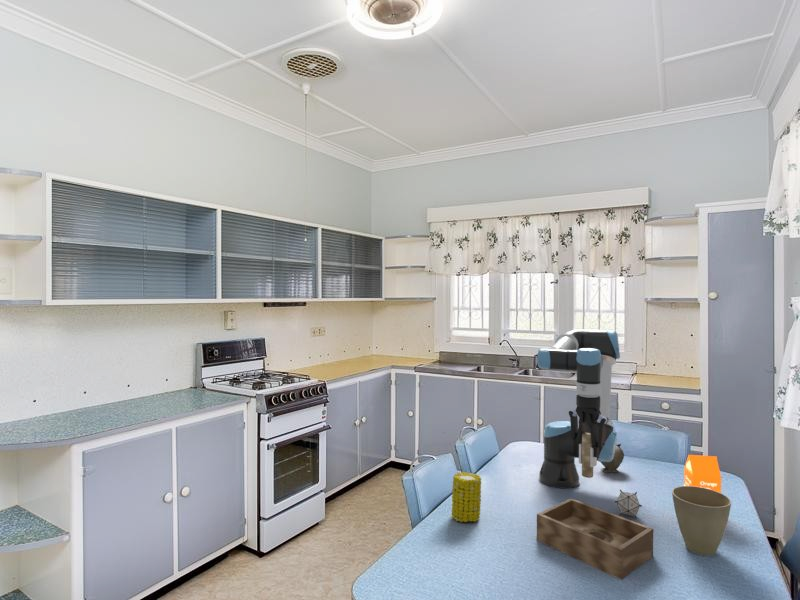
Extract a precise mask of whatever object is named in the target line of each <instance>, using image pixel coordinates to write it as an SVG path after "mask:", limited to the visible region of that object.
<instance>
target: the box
mask: <svg viewBox="0 0 800 600" xmlns="http://www.w3.org/2000/svg"><path fill="white" fill-rule="evenodd" d="M536 541H538V542H539V543H542V544H545V545H546V546H548V547H551V548H553V549H555V550H557V551H559V552H561V553H563V554H565V555H567V556H569V557H572V558H574V559H576V560H578V561H580V562H582V563H584V564H587V565H588V566H590V567H593V568H595V569H596V570H599V571H601V572H604V573H605V574H606V575H607V574H608V575H610V576H612V577H614V578H616V579H618V580H620V581H622V580H623V579H624V578H626V577H627V576H629V575H630V574H631V573H632V572H634V571H635V570H637V569H638V568H640V567H641V566H642V565H644V564H645V563H646V562H648V561H649V560H650V559H652V558H653V557H654V528H652V527H650V526H647V525H644V524H642V523H639V522H636V521H633V520H630V519H628V518H625V517H623V516H621V515H620V516H619V515H617V514H614V513H612V512H610V511H606V510H604V509H601V508H599V507H596V506H593V505H590V504H587V503H585V502H582V501H579V500H576V499H574V498H572V497H570V498H568V499H566V500H564V501H562V502H560V503H557V504H556V505H554V506H552V507H550V508H547V509H544V510H543V511H540V512H538V513H536Z"/></svg>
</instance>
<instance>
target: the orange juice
mask: <svg viewBox="0 0 800 600" xmlns="http://www.w3.org/2000/svg"><path fill="white" fill-rule="evenodd" d="M683 468H684V469H683V470H684V472H683V473H684V475H683V486H696V487H702V488H707V489H711V490H714V491H717V492H720V493H722V474H721V470H720V466H719V462H718V456H717V455H715V456H713V455H696V454H688V456H687V459H686V461H685V465H684V467H683Z"/></svg>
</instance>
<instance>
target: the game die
mask: <svg viewBox="0 0 800 600" xmlns="http://www.w3.org/2000/svg"><path fill="white" fill-rule="evenodd" d="M619 492H620V493H619V496H618V498H617V500H614V503H615V504H616V505H617V507H618V510H619V515H618V516H620V517H621V516H622V515H626V516H633V517H634V518H635V519H638V517H637V513H638V512H639V509H640V508H642V507H643V505H642V504H640V502H639V499H638V497H637V493H638V492H637V491H635V492H634V493H632V492H626V491H622V489H619Z"/></svg>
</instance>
